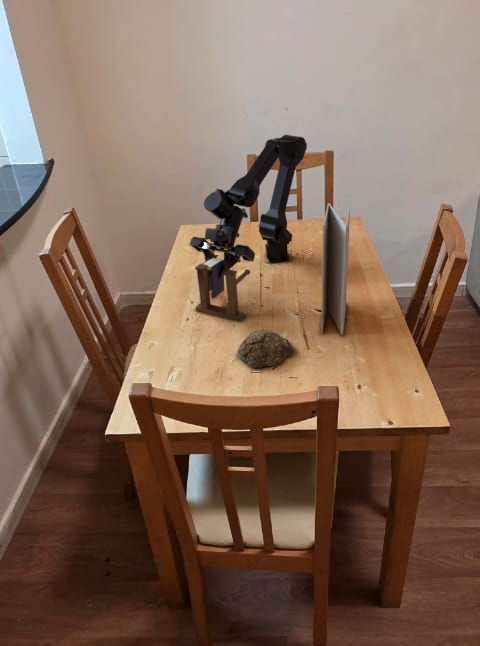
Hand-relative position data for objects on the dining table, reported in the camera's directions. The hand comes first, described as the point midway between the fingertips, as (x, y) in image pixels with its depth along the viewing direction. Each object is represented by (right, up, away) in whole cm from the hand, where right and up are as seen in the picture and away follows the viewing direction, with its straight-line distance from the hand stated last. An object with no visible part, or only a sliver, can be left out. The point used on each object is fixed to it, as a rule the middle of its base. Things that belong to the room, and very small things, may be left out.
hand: (213, 277), depth 156 cm
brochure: (+33, -12, -7) cm, 36 cm away
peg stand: (+4, -8, +2) cm, 9 cm away
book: (0, -4, +2) cm, 5 cm away
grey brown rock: (+14, -20, -19) cm, 30 cm away
